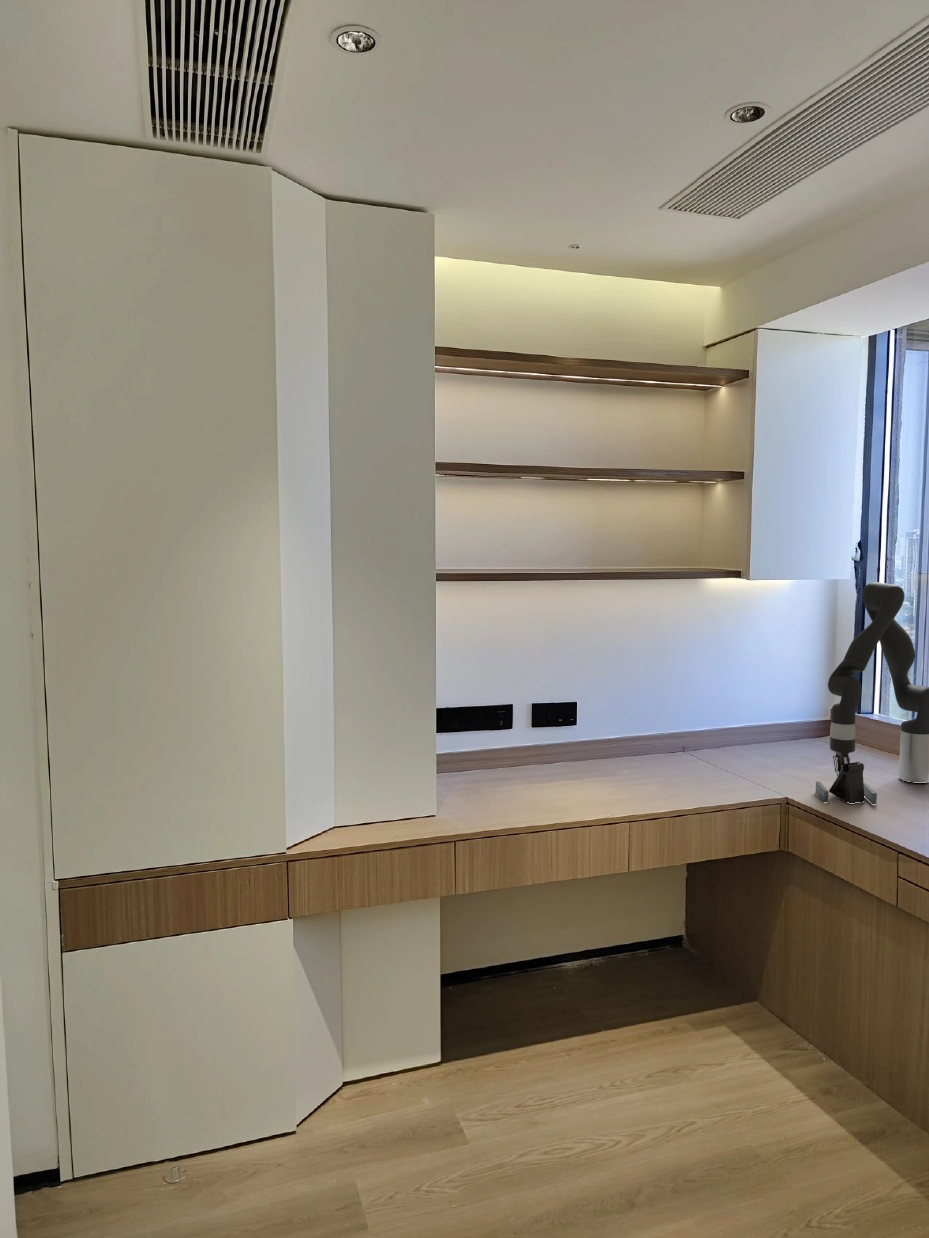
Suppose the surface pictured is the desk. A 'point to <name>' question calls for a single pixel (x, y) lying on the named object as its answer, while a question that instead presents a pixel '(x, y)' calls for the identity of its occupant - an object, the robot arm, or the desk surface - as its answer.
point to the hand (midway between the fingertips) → (841, 787)
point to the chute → (823, 792)
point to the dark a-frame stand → (849, 783)
